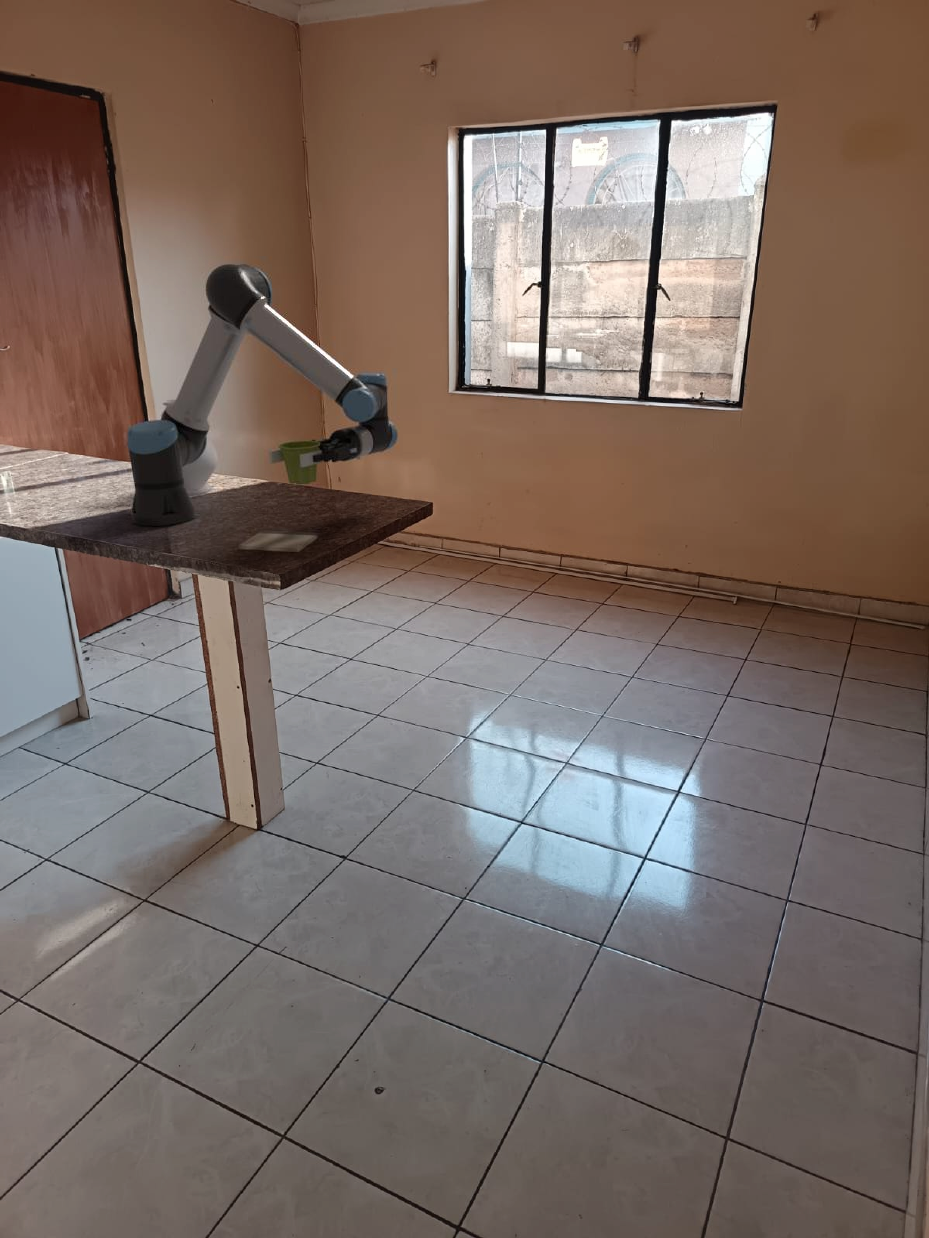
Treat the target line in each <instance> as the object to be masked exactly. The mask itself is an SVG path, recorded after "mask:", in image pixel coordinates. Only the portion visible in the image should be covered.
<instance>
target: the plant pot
mask: <svg viewBox="0 0 929 1238" xmlns="http://www.w3.org/2000/svg"><path fill="white" fill-rule="evenodd" d="M316 441H317V440H316ZM316 441H311V440H295V441H287V442H282V443H280V444H278V446H277V447H278V449H281V453H282V454H283V457H284V461H283V462H284V465H285V469H286V474H287V478H288V482H289V484H296V485H308V484H311V483H313V482H316V481H317V469H318V468H317V466H318V464H314V465H310V466H306V467H301V465H300V455H301V454H305V453H309V452H313V451H317V450H319V446H320V443H319V442H316Z"/></svg>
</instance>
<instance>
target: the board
mask: <svg viewBox="0 0 929 1238" xmlns="http://www.w3.org/2000/svg"><path fill="white" fill-rule="evenodd" d="M318 538H320V534H319V532H318V533H317V532H299V531H298V532H297V531H278V530H276V531H275V530H261V531H260V532H258V533H257V534H255V535H253V536H252V537H250V538H248V539H247V540H246V541H244V542H242V543H240V544H239V545H238V550H251V551H252V550H253V551H269V552H270V551H271V552H288V553H289V552H292V553H299V552H300V551H302V550H303V549H305V548H306V547H307V546H309V545H310V544H312V543H313V542H314V541H315V540H317V539H318Z"/></svg>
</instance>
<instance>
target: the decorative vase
mask: <svg viewBox="0 0 929 1238" xmlns="http://www.w3.org/2000/svg"><path fill="white" fill-rule="evenodd" d="M175 401H176V399H168V400H163V401H162V405H163V406H165V407H167V406H169V405H172V404H174V403H175ZM164 411H165V409H164V410H163V411H162V413H161V415H160V416H161V418H162V415H163V413H164ZM218 463H219V457H218V452H217V450H216V448H215V446H214V445H213V443H212V442H211V440H210V439H208V438H207V444H206V448H205V450H204V452H203V454H202V455H201V456H200V457H199V458H198V459H197V460H196V461H194V462H193V463H191V464H188V465H186V466H184V467H182V472H183V479H184V486H185V488H186V491H187V493H188V495H189V497H190V496H197V495H198V496H199V495H202V494H207V493H209V492H211V491H213V486H212V485H210V484H206V483H207V482H208V481H209V479H210V478H211V476H212V475H213V473H214V471H215V470H216V468H217V466H218Z"/></svg>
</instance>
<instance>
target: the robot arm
mask: <svg viewBox="0 0 929 1238" xmlns="http://www.w3.org/2000/svg"><path fill="white" fill-rule="evenodd" d="M205 294H206V298H207V301H208V303H209V305H208V307H207V310H208V313H209V315H210V320H209V323H208V324H207V327H206V329H205V332H204V334H203V336H202V339H201V340H200V344H199V345H198V348H197V349H196V353H195V354H194V358H193V359H192V361H191V364H190V366H189V369H188V371H187V374H186V375H185V378H184V381H183V382H182V385H181V388H180V390H179V393H178V395H177V397H176V399H175V400H176V401H175V403H174V404H172V405H169V406H165V409H164V410H165V411H164V410H163V411H164V413H163V412H162V413H163V415H162V414H161V415H162V418H161V419H154V420H146V421H144V422H138V423H135V424H134V425H131V426H130V427H129V428H128V430H127V432H126V437H127V439H126V445H127V446H126V447H127V448H128V453H129V454H128V455H129V459H130V460H129V461H130V466H131V473H132V478H133V485H134V497H133V501H132V505H131V506H132V507H131V519H132V522H133V523H134V524H135V525H138V526H144V527H159V526H160V527H161V526H163V527H164V526H171V525H176V524H181V523H186V522H188V521H191V520H193V519H195V517H196V515H197V514H196V508H195V505H194V503H193V501H192V499H191V497H190V496H189V495H188V493H187V491H186V488H185V486H184V479H183V472H182V467H184V466H186V465H188V464H191V463H193V462H194V461H196V460H197V459H198V458H199V457H200V456H201V455H202V454H203V452H204V450H205V448H206V444H207V439H208V437H207V435H208V433H209V430H210V428H211V426H210V423H209V421H208V417H209V415H210V414H211V413H210V412H211V410H212V409H213V407H214V404H215V403H216V400H217V398H218V395H219V393H220V391H221V388H222V386H223V384H224V382H225V379H226V377H227V375H228V373H229V371H230V368H231V367H232V364H233V362H234V359H235V357H236V355H237V353H238V350H239V349H240V346H241V344H242V342H243V340H244V338H245V336H246V335H248V334H251V335H252V336H253V337H254V338H256V339H257V340H258V341H259V342H261V344H263V345H264V346H266V347H267V349H269V350H270V351H272V352H273V353H274V354H276V355H277V356H278V357H279V358H280V359H281V360H283V361H284V362H285V363H286V364H288V365H289V366H290V367H291V368H292V369H294V371H296V372H297V373H299V374H300V375H301V376H303V377H304V378H305V379H306V380H308V381H309V382H310V383H311V384H313V386H315V387H316V388H317V389H319V390H320V391H321V392H322V393H324V395H326V396H327V397H329V399H331V400H332V401H334V403H336V404H337V405H338V406H339V407H341V408H342V410H343V413H344V414H345V416H346V417H347V418H348V419H349V420H351V421H353V422H354V423H355V422H356V423H358V425H354V426H349V427H346V428H341V429H337V430H334V431H333V432H332V433H331V434H330V435H329V438H323V439H322V440H316V439H311V440H310V441H316V442H319V443H320V446H319V450H317V451H313V452H309V453H305V454H301V455H300V465H301V467H306V466H310V465H314V464H317V465H318V464H321V463H324V462H325V463H328V462H330V461H331V462H332V463H337V462H346V461H351V460H354V459H356V460H361V457H365V456H368V455H372V454H377V453H382V452H385V451H388V450H389V449H391V448H392V447H394V446H395V445H396V443H397V441H398V430H397V429H396V428H397V427H396V426H395V424H394V423H393V422H392V421H391V420H389V410H388V409H389V408H388V407H389V406H388V389H389V388H388V385H387V384H388V383H387V377H386V375H385V373H382V372H362V373H358V374H357V375H356V376H355V375H354V374H353V373H352V372H351V371H349V370H348V369H346V368H345V367H344V366H343V365H341V363H339V362H338V361H337V360H335V358H333V357H332V356H331V355H329V354H328V353H327V352H326V351H325V350H323V348H321V347H319V345H317V344H316V343H315V342H313V341H312V340H311V339H310V338H309V337H307V335H305V334H304V333H302V331H300V330H299V329H298V328H297V327H295V326H294V325H293V324H292V323H290V322H289V321H288V320H287V319H286V318H284V317H283V316H282V315H281V314H280V313H278V312H277V311H276V310H275V309H273V308H272V307H271V304H272V301H273V298H274V297H273V295H274V294H273V287H272V284H271V282H270V280H269V277H268V276H267V275H266V273H264V272H263V271H261V270H260V269H258V268H256V267H255V266H252V265H249V264H247V263H243V264H232V263H231V264H230V263H227V264H222V265H219V266H217V267H216V268H215V269H213V270H212V271H211V272H210V274H209V275H208V276H207V279H206V283H205ZM268 453H269V454H268V455H269V463H270V464H276V463H281V462H285V461H284V457H283V454H282V453H281V449H280V448H278V449H273V450H269V451H268ZM133 523H132V524H133Z"/></svg>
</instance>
